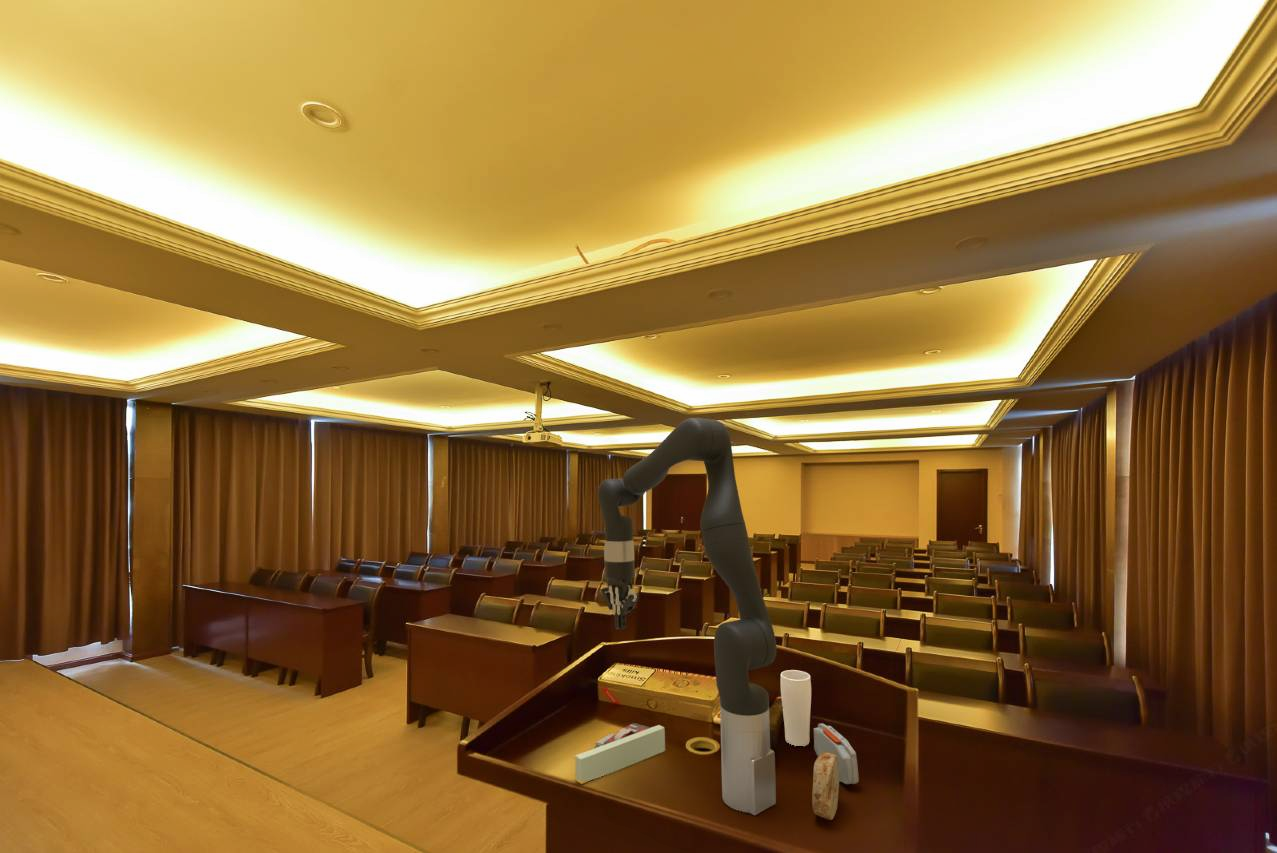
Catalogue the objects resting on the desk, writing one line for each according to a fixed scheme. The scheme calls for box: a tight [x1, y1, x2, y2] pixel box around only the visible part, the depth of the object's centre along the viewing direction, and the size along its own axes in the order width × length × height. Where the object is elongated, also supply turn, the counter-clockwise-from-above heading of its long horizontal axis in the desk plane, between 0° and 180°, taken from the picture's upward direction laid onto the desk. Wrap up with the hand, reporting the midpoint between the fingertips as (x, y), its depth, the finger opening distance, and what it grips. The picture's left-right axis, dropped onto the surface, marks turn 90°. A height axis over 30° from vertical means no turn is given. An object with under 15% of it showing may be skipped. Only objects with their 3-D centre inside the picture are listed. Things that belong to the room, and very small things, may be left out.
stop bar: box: [574, 724, 666, 782], centre depth 123 cm, size 2×22×5 cm, turn 128°
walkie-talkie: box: [593, 722, 651, 749], centre depth 129 cm, size 9×4×20 cm
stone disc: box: [811, 753, 840, 821], centre depth 106 cm, size 10×4×10 cm, turn 150°
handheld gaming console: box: [813, 722, 860, 785], centre depth 119 cm, size 14×3×8 cm, turn 11°
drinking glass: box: [780, 669, 812, 747], centre depth 133 cm, size 7×7×15 cm
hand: (620, 628), depth 144 cm, fingers closed
